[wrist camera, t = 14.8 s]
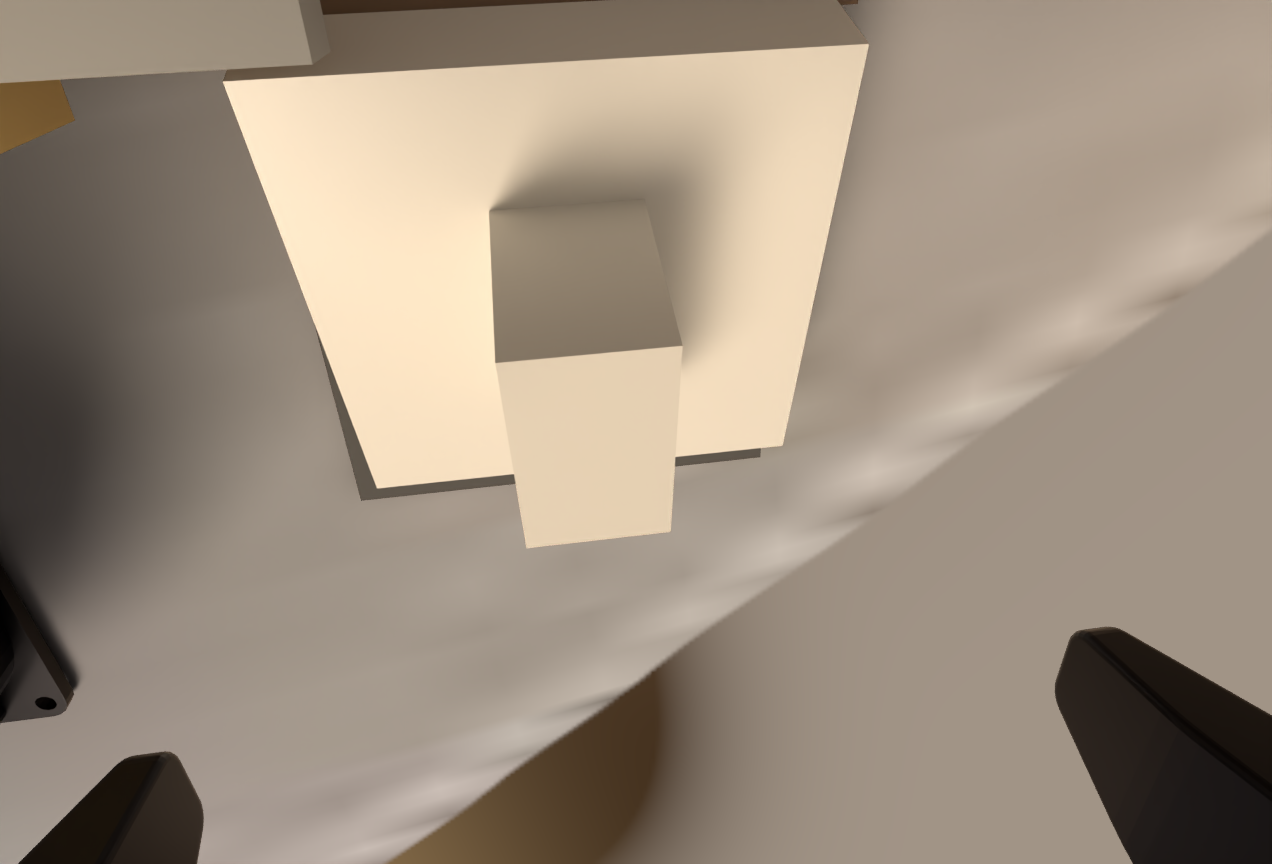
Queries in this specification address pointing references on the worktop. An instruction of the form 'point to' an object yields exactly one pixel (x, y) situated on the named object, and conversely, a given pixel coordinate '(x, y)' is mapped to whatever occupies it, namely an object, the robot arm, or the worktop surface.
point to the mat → (372, 492)
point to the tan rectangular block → (137, 47)
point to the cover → (561, 235)
